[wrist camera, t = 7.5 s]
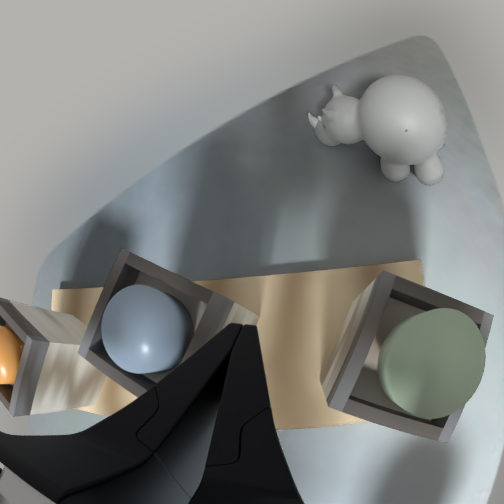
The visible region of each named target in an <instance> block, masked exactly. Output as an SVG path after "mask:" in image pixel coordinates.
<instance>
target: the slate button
mask: <svg viewBox="0 0 504 504" xmlns="http://www.w3.org/2000/svg"><path fill="white" fill-rule="evenodd" d="M101 332H102V339H103V343H104V346H105V349H106V351H107V353H108V355H109V356H110V358H111V359H112V360H113V361H114V362H115V363H116V364H117V365H118V366H119V367H120V368H122V369H124V370H126V371H128V372H132V373H138V374H141V373H151V372H159V371H166V370H169V369H172V368H174V367H176V366H177V365H179V364H180V363H181V362H182V360H183V358H184V355H185V353H186V351H187V349H188V346H189V344H190V342H191V340H192V338H193V335H194V331H193V323H192V319H191V316H190V314H189V312H188V310H187V308H186V307H185V306H184V304H183V303H182V302H181V301H180V300H178V299H177V298H175V297H174V296H172V295H170V294H167V293H165V292H162V291H160V290H157V289H155V288H152V287H150V286H146V285H132V286H128V287H126V288H124V289H122V290H120V291H119V292H118V293H116V294H115V295H114V296H113V297H112V299H111V300H110V301H109V303H108V305H107V307H106V309H105V311H104V314H103V318H102V325H101Z"/></svg>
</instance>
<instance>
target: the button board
mask: <svg viewBox="0 0 504 504" xmlns="http://www.w3.org/2000/svg"><path fill="white" fill-rule="evenodd" d="M132 285H146V286H150V287H152V288H155V289H157V290H160V291H162V292H165V293H167V294H170V295H172V296H174V297H175V298H177V299H178V300H180V301H181V302H182V303H183V304H184V306H185V307H186V308H187V310H188V312H189V314H190V316H191V319H192V323H193V331H194V335H193V338H192V340H191V342H190V344H189V346H188V349H187V351H186V353H185V355H184V358H183V360H182V362H184V361H185V360H186V359H187V358H188V357H190V356H191V355H192V354H193V353H194V352H196V351H197V350H198V349H199V348H201V347H202V346H203V345H204V344H205V343H207V342H208V341H209V340H210V339H211V338H213V337H214V336H215V335H216V334H217V333H218V332H220V331H221V330H222V329H223V328H224V327H226V326H227V325H228V324H229V323H240V324H243V325H245V324H249V325H256V326H257V328H258V334H259V340H260V346H261V352H262V357H263V363H264V369H265V375H266V380H267V386H268V392H269V398H270V403H271V408H272V414H273V419H274V424H275V428H276V430H279V429H301V428H315V427H327V426H336V425H345V424H353V423H361V422H368V421H370V422H373V423H376V424H379V425H382V426H386V427H389V428H392V429H396V430H399V431H403V432H406V433H410V434H413V435H417V436H421V437H425V438H429V439H433V440H437V441H441V442H445V443H448V441H449V439H450V437H451V435H452V433H453V431H454V429H455V427H456V424H457V422H458V420H459V418H460V416H461V413H462V411H463V409H464V406H465V405H463V406H462V407H461V408H460V409H458V410H457V411H455V412H454V413H452V414H450V415H448V416H445V417H441V418H437V419H425V418H420V417H417V416H414V415H413V414H411V413H409V412H408V411H406V410H404V409H403V408H401V407H400V406H398V405H397V404H395V403H394V402H393V401H391V400H390V399H389V398H388V397H387V395H386V394H385V393H384V391H383V389H382V387H381V385H380V382H379V378H378V372H377V364H378V357H379V352H380V349H381V346H382V344H383V342H384V340H385V339H386V337H387V335H388V334H389V333H390V331H391V330H392V329H393V328H394V327H395V326H396V325H397V324H399V323H400V322H401V321H403V320H405V319H406V318H409V317H411V316H414V315H417V314H421V313H424V312H427V311H430V310H433V309H438V308H450V309H455V310H458V311H460V312H462V313H464V314H466V315H467V316H468V317H469V318H471V319H472V320H473V321H474V323H475V324H476V325H477V327H478V329H479V330H480V332H481V335H482V337H483V341H484V345H485V347H486V343H487V340H488V336H489V332H490V329H491V325H492V321H493V316H494V315H492V314H489V313H487V312H485V311H482V310H480V309H478V308H475V307H473V306H470V305H468V304H466V303H463V302H461V301H458V300H456V299H454V298H451V297H449V296H446V295H444V294H441V293H439V292H437V291H434V290H432V289H429V288H427V287H425V284H424V278H423V271H422V266H421V260H412V261H403V262H395V263H386V264H377V265H367V266H358V267H348V268H339V269H329V270H319V271H308V272H298V273H287V274H276V275H265V276H253V277H242V278H229V279H217V280H204V281H190V280H187V279H185V278H183V277H181V276H179V275H177V274H175V273H173V272H170V271H168V270H166V269H164V268H162V267H160V266H158V265H156V264H154V263H152V262H150V261H147V260H145V259H143V258H141V257H139V256H137V255H135V254H133V253H131V252H129V251H127V250H125V249H123V248H122V249H121V251H120V253H119V255H118V257H117V259H116V261H115V263H114V265H113V268H112V270H111V272H110V274H109V276H108V279H107V281H106V283H105V285H104V287H98V288H79V289H58V290H53V292H52V308H51V310H47V309H43V308H39V307H34V306H30V305H26V304H22V303H18V302H14V301H10V300H7V299H3V298H0V325H1V326H6V327H11V329H12V330H13V331H14V332H15V333H16V334H17V335H18V337H19V338H20V339H21V340H22V341H23V342H24V343H25V345H24V349H23V352H22V356H21V359H20V363H19V367H18V371H17V375H16V379H15V383H14V384H0V400H1V402H2V403H3V404H4V405H5V407H6V408H7V409H8V411H9V412H10V413H11V414H12V415H13V416H14V417H15V416H24V415H33V414H41V413H49V412H56V411H63V410H69V409H78V410H82V411H87V412H91V413H96V414H100V415H105V416H110V415H112V414H114V413H115V412H117V411H119V410H120V409H122V408H123V407H125V406H126V405H128V404H130V403H131V402H133V401H134V400H135V399H137V398H138V397H139V396H141V395H142V394H143V393H145V392H146V391H147V390H149V389H150V388H151V387H152V386H155V385H156V383H158V382H159V381H160V380H161V379H163V378H164V377H165V376H166V375H168V374H169V373H170V372H171V371H172V370H174V369H175V368H176V367H177V366H179V365H180V364H181V363H182V362H181V363H180V364H179V365H177V366H176V367H174V368H172V369H169V370H166V371H159V372H151V373H141V374H138V373H132V372H128V371H126V370H124V369H122V368H120V367H119V366H118V365H117V364H116V363H115V362H114V361H113V360H112V359H111V358H110V356H109V355H108V353H107V351H106V349H105V346H104V343H103V339H102V332H101V325H102V318H103V314H104V311H105V309H106V307H107V305H108V303H109V301H110V300H111V299H112V297H113V296H114V295H115V294H116V293H118V292H119V291H120V290H122V289H124V288H126V287H128V286H132Z"/></svg>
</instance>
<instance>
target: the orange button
mask: <svg viewBox="0 0 504 504" xmlns="http://www.w3.org/2000/svg"><path fill="white" fill-rule="evenodd" d="M24 345H25V343H24V342H23V341H22V340H21V339H20V338H19V337H18V335H17V334H16V333H15V332H14V331H13V330H12V329H11V327H6V326H1V325H0V384H14V383H15V379H16V375H17V371H18V367H19V363H20V359H21V356H22V352H23V349H24Z"/></svg>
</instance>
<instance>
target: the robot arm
mask: <svg viewBox="0 0 504 504" xmlns="http://www.w3.org/2000/svg"><path fill="white" fill-rule="evenodd" d="M0 462H1V463H3V465H5V467H4V468H3V470H2V469H1V468H0V504H305V503H304V502H303V500H302V498H301V496H300V494H299V492H298V490H297V487H296V485H295V482H294V480H293V477H292V475H291V472H290V469H289V467H288V464H287V461H286V459H285V456H284V453H283V451H282V448H281V445H280V442H279V439H278V436H277V433H276V428H275V424H274V419H273V414H272V408H271V403H270V398H269V392H268V386H267V380H266V375H265V369H264V363H263V357H262V352H261V346H260V340H259V334H258V328H257V326H256V325H249V324H245V325H243V324H240V323H229V324H228V325H227V326H226V327H224V328H223V329H222V330H221V331H220V332H218V333H217V334H216V335H215V336H214V337H213V338H211V339H210V340H209V341H208V342H207V343H205V344H204V345H203V346H202V347H201V348H199V349H198V350H197V351H196V352H194V353H193V354H192V355H191V356H190V357H188V358H187V359H186V360H185V361H184V362H182V363H181V364H180V365H179V366H177V367H176V368H175V369H174V370H172V371H171V372H170V373H169V374H168V375H166V376H165V377H164V378H163V379H161V380H160V381H159V382H158V383H156V385H155V386H152V387H151V388H150V389H149V390H147V391H146V392H145V393H143V394H142V395H141V396H139V397H138V398H137V399H135V400H134V401H133V402H131V403H130V404H128V405H126V406H125V407H123V408H122V409H120V410H119V411H117V412H115V413H114V414H112V415H110V416H109V417H107V418H105V419H104V420H102V421H100V422H99V423H97V424H95V425H93V426H92V427H90V428H88V429H86V430H84V431H82V432H79V433H75V434H70V435H47V436H20V435H19V436H18V435H10V434H6V433H3V432H1V431H0Z"/></svg>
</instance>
